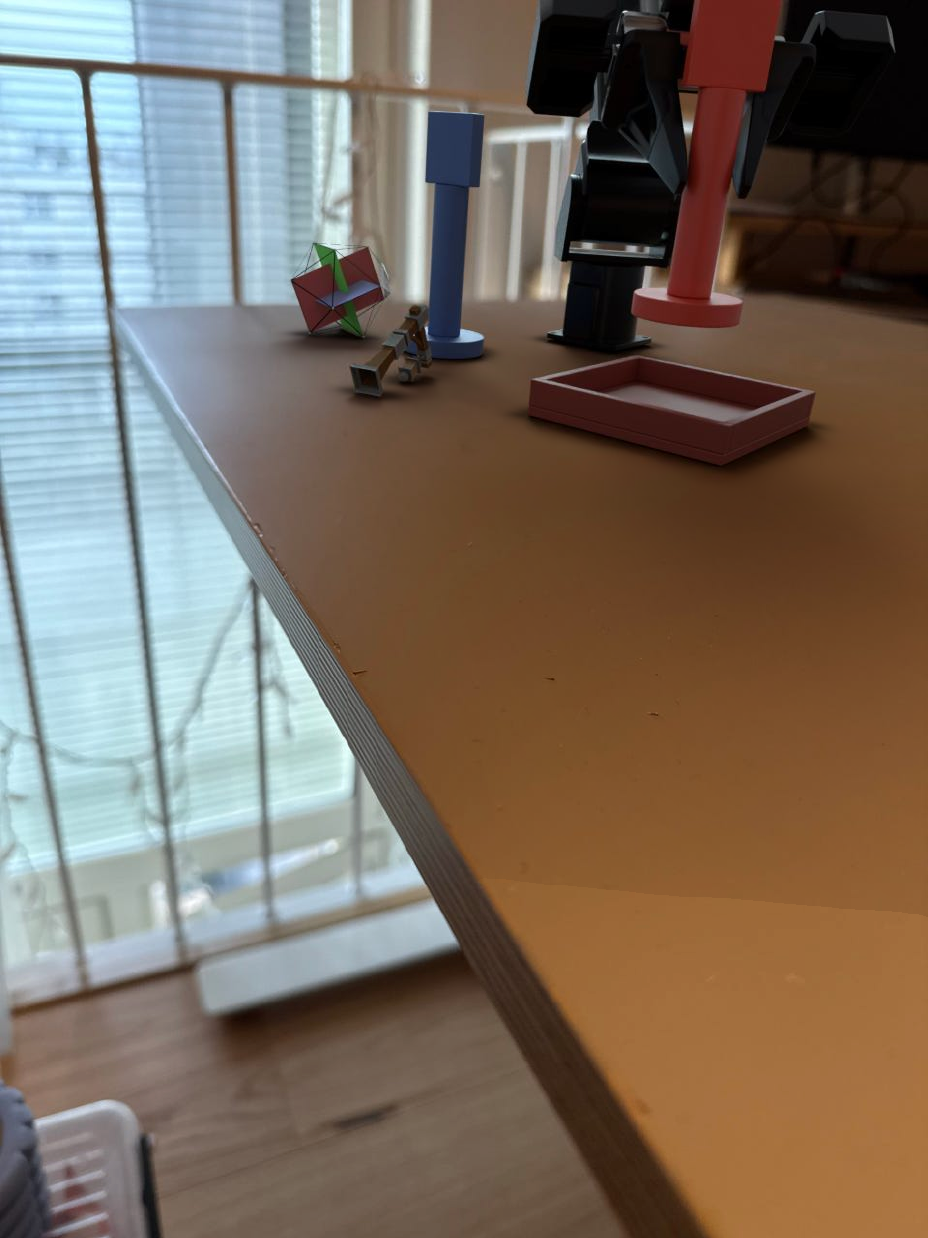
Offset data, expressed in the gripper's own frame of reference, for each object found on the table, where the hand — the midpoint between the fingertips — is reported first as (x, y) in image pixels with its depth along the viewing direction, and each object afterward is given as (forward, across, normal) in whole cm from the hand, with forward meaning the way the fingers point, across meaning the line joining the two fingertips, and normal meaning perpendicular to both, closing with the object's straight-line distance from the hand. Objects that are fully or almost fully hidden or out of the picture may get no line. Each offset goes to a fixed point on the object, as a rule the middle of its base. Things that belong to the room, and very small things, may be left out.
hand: (712, 190), depth 48 cm
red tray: (+8, 0, +10) cm, 13 cm away
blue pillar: (-4, -13, +22) cm, 26 cm away
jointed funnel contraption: (+4, -16, +14) cm, 22 cm away
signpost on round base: (+4, 0, +6) cm, 7 cm away
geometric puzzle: (-7, -21, +25) cm, 34 cm away
